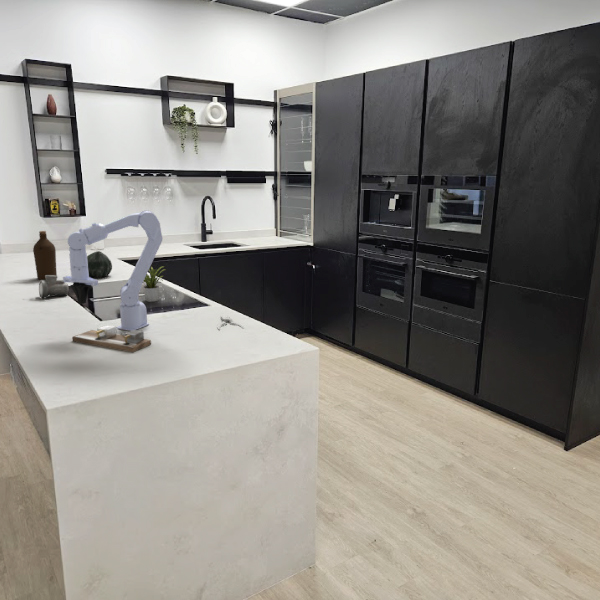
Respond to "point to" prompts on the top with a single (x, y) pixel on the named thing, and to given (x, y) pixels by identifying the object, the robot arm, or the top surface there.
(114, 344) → the gauge board
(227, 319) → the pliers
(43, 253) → the olive oil
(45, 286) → the pipe fitting
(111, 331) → the block
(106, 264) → the squash
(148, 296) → the house plant
